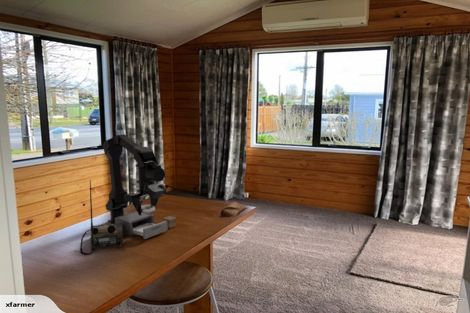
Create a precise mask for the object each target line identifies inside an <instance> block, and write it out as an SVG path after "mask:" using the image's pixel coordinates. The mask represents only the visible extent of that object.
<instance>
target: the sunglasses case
mask: <svg viewBox="0 0 470 313" xmlns="http://www.w3.org/2000/svg"><path fill="white" fill-rule="evenodd" d="M246 209H247V207H246V206H244V205H242V204H241V203H239V202H238V201H234V202H232V203H230V204H229V205H227V206H226V207H224V208H223V209H221V211H220V216H221V215H223V216H222V217H227V216H233V217H232V218H237V217H238V215H240V213H242V212H243V211H245V210H246Z"/></svg>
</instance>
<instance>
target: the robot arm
mask: <svg viewBox="0 0 470 313" xmlns="http://www.w3.org/2000/svg"><path fill="white" fill-rule="evenodd" d="M123 148H124V150H126V151H128V152H129V153H130V154H132V158H133V160H135V162H136V164H135V167H136V168H137V172H138V174H137V176H138V180H136V183H137V184H138V189H136V190H137V191H136V192H137V193H136V192H130V193H129V192H128V191H126V190H125V189H124V188H123V179H122V177H123V176H122V169H121V168H122V167H121V159H120V158H121V156H122V154H123ZM102 149H103V151H104V152H103V153H104V155H105V156H106V157H107V159H108V165H109V175H110V185H111V190H110V191H109V193H108V201H107V202H106V203H105V209H106V211H108V212H109V213H110V219H108V220H107V222H110V224H115V218H116V217H120V216H123V215H125V212H124V210H125V209H126V208H128V205H129V203H131V204H132V205H133V207H134V209H135V210H136V211H137V212H138V214H139V215H140V216H141V206H142V205H143V204H142V203H143V200H142V199H141V198H145V197H148V196H149V200H150V205H154V206H155V209H156V208H157V204H158V202H159V200H160V198H161V197H163V195H166V194H167V188H166V187H165V184H164V183H161V184H156V182H158V183H159V182H163V180H164V179H165V178H166V177H165V176H166V171H165V170H164V168H163V167H162V165H161V164H159V161H158V158H157V156H156V155H155V153H154V151H153V149H152V148H150V147H147V146H143V145H140V144H138V143H137V142H136V141H134V140H133V139H132V138H130V137H128V135H127V134H125V133H124V134H116V135H115V136H114V137H111V138H109V139H106V140H105V141H104V142H103V144H102ZM136 211H135V212H136Z"/></svg>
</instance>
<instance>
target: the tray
mask: <svg viewBox="0 0 470 313" xmlns="http://www.w3.org/2000/svg"><path fill="white" fill-rule="evenodd" d="M132 229H133V233H135V234H136V235H139V236H141V237H143V238H142V239H144V240H146V239H149V238H151V237H155V236H156V235H159V234H162V233H164V232H167V231H168V229H169V228H168V227H167V221H164V220H163V221H162V222H161V221H160V222H158V223H154V224H153V223H150V222H149V223H146V224H143V225H140V226H138V227H135V228H132Z"/></svg>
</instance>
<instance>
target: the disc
mask: <svg viewBox="0 0 470 313" xmlns="http://www.w3.org/2000/svg"><path fill="white" fill-rule="evenodd" d="M155 211H156V208H155V206H154V205H151V204H141V213H148V214H151V213H153V212H155Z"/></svg>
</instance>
